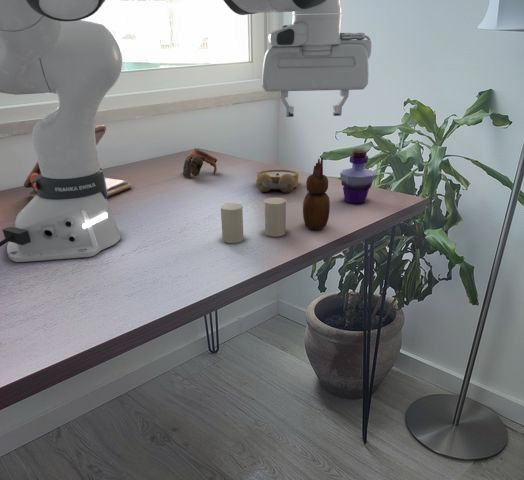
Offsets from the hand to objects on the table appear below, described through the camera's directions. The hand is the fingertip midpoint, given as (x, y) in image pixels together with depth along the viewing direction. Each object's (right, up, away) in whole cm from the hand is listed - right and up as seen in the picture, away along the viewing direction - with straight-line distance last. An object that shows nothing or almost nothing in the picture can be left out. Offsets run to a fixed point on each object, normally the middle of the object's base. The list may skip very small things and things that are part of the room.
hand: (313, 116), depth 99 cm
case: (-59, -4, +36) cm, 69 cm away
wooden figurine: (+2, -19, +11) cm, 23 cm away
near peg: (-16, -23, +6) cm, 29 cm away
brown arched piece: (-29, +5, +49) cm, 57 cm away
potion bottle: (+13, -9, +26) cm, 31 cm away
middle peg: (-7, -21, +9) cm, 24 cm away
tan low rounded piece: (-6, -3, +37) cm, 37 cm away
